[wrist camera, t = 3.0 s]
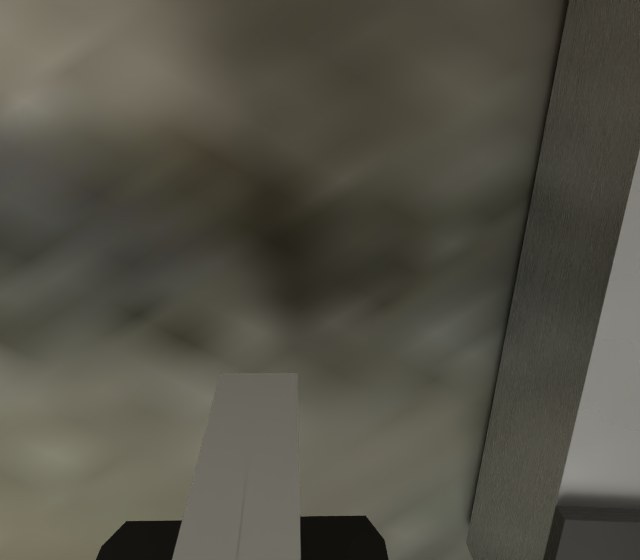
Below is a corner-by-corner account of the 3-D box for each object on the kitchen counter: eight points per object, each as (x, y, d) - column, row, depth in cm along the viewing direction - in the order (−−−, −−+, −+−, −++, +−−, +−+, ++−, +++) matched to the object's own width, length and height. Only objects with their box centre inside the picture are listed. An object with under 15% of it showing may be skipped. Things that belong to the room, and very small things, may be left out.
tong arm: (691, -28, 12) (882, -86, 8) (553, 546, 16) (638, 689, 12) (576, -41, 12) (716, -106, 8) (466, 542, 16) (524, 687, 12)
